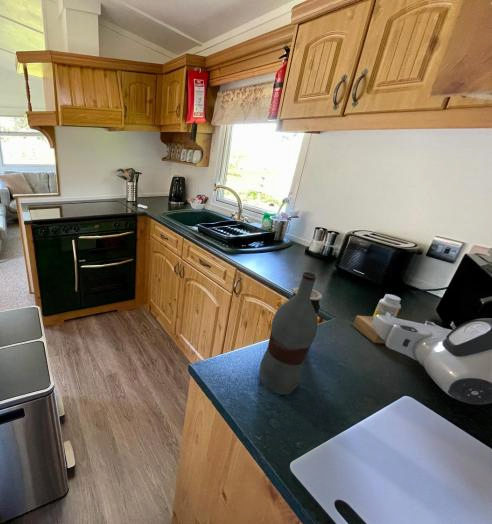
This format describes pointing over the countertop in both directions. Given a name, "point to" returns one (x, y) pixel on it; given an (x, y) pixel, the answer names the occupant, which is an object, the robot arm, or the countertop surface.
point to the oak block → (367, 328)
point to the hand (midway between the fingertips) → (407, 319)
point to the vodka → (290, 340)
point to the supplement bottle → (388, 306)
